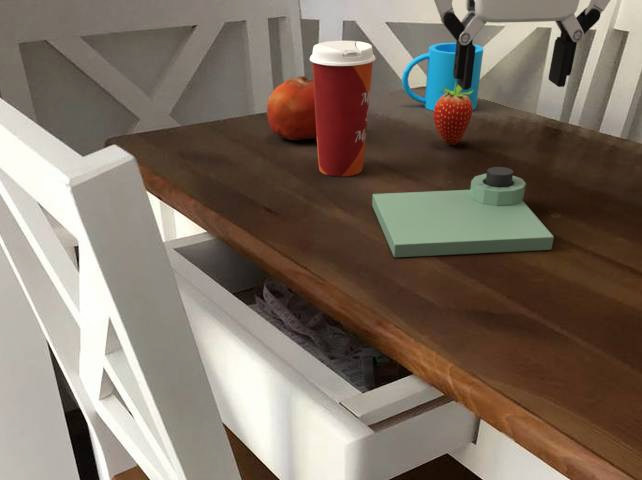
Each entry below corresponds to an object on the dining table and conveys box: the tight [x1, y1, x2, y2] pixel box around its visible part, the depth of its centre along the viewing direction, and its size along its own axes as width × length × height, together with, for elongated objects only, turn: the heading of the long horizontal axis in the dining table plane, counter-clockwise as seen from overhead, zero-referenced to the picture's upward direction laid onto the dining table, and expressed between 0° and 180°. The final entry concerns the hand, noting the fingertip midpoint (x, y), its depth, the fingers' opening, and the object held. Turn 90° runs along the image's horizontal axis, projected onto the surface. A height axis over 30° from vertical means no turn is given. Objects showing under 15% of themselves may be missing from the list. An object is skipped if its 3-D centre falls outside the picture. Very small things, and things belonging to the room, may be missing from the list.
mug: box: [401, 42, 484, 112], centre depth 114 cm, size 12×8×8 cm
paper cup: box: [309, 40, 377, 178], centre depth 89 cm, size 8×8×14 cm
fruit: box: [432, 82, 474, 146], centre depth 98 cm, size 5×5×8 cm
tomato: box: [266, 75, 317, 141], centre depth 102 cm, size 9×9×8 cm
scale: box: [371, 173, 555, 258], centre depth 78 cm, size 16×14×3 cm
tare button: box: [485, 166, 514, 188], centre depth 80 cm, size 3×3×2 cm
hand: (509, 85), depth 75 cm, fingers open, 9 cm apart
